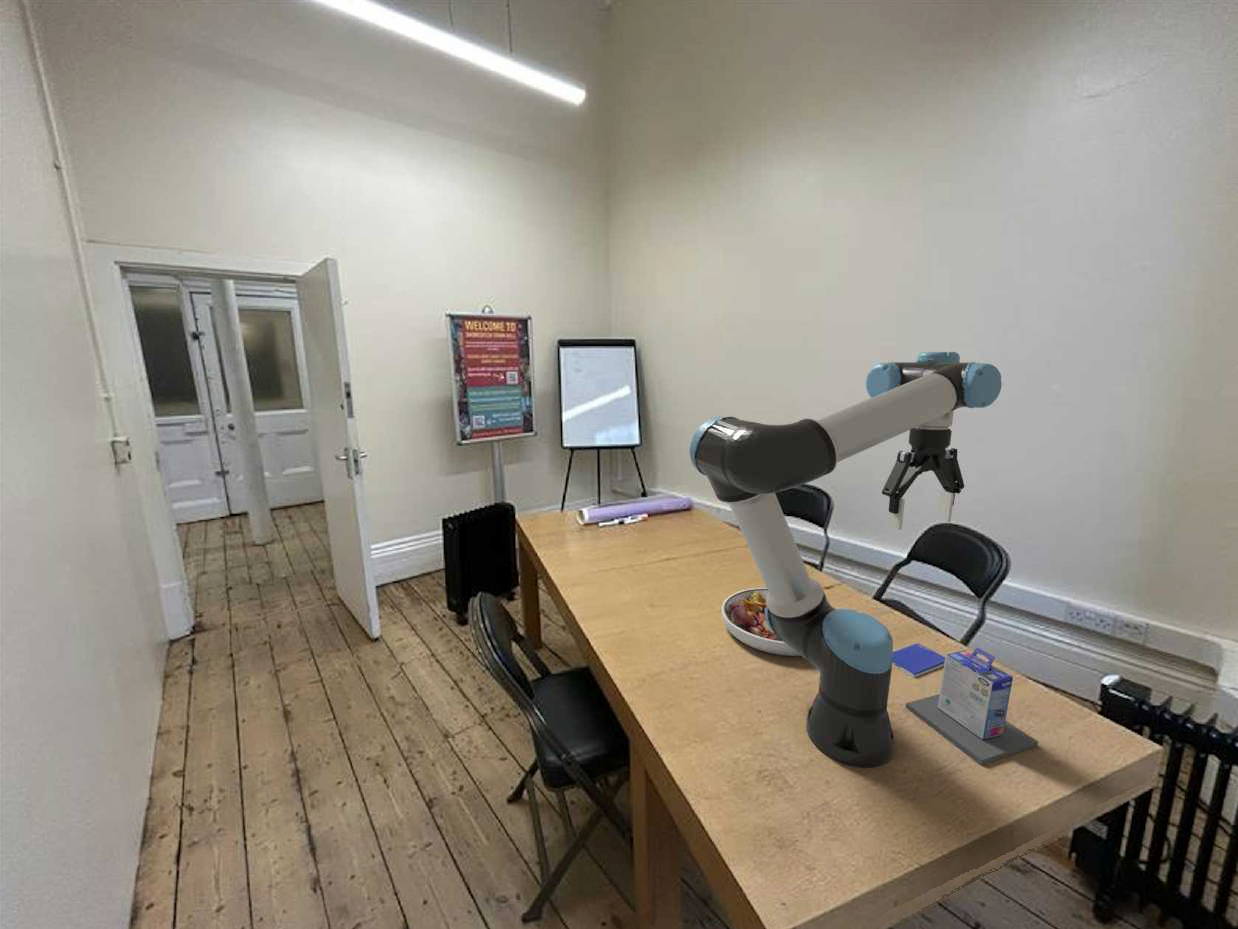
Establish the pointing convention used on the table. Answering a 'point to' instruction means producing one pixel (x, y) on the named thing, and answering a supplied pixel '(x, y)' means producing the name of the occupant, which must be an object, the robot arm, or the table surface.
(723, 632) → the table surface
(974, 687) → the ink cartridge box
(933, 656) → the blue book
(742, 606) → the bowl
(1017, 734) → the rubber mat
